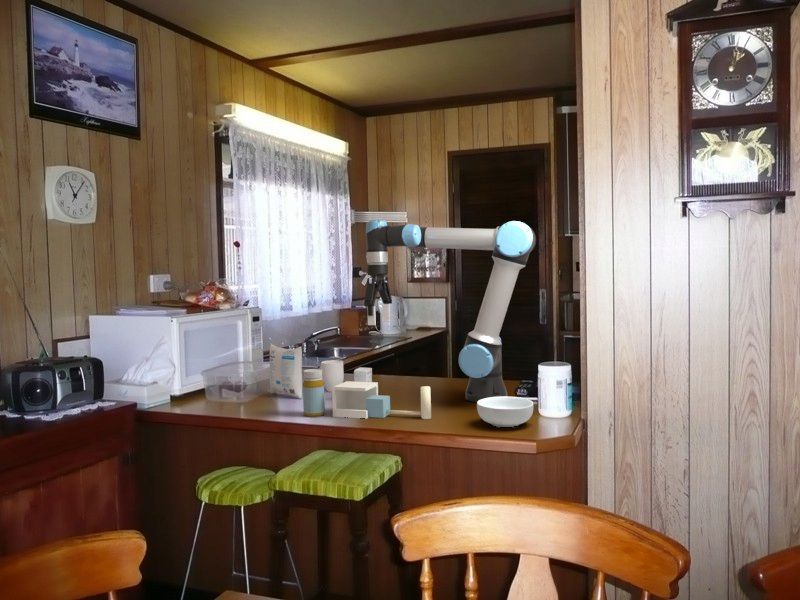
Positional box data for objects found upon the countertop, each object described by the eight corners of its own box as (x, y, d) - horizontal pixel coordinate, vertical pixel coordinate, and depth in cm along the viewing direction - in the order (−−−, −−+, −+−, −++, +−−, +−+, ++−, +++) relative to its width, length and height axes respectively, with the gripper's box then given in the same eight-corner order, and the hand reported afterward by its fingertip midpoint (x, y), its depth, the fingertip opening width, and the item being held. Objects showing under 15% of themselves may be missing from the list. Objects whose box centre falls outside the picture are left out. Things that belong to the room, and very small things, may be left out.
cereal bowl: (466, 425, 193) (465, 402, 193) (499, 415, 205) (498, 394, 204) (512, 435, 181) (511, 410, 181) (544, 423, 193) (544, 400, 192)
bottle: (314, 411, 218) (313, 368, 218) (329, 414, 214) (327, 369, 213) (299, 415, 213) (297, 371, 212) (313, 418, 208) (312, 372, 208)
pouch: (292, 401, 237) (290, 347, 236) (264, 394, 251) (262, 344, 250) (309, 397, 243) (307, 345, 242) (281, 391, 256) (279, 342, 255)
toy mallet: (433, 416, 206) (432, 385, 205) (428, 420, 200) (427, 389, 200) (373, 412, 213) (372, 383, 213) (366, 416, 208) (365, 386, 207)
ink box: (367, 403, 230) (366, 370, 229) (353, 403, 231) (352, 370, 230) (372, 398, 238) (372, 366, 237) (360, 398, 239) (359, 366, 238)
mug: (349, 389, 256) (347, 360, 255) (333, 394, 249) (332, 364, 248) (328, 387, 263) (327, 358, 262) (313, 391, 256) (311, 361, 255)
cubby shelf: (378, 411, 215) (377, 382, 215) (366, 418, 205) (365, 388, 205) (346, 409, 219) (345, 381, 219) (332, 416, 210) (331, 386, 209)
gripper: (380, 264, 240) (382, 320, 241) (353, 264, 217) (355, 326, 218) (399, 263, 238) (401, 320, 239) (373, 263, 214) (375, 326, 215)
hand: (379, 323), depth 228 cm, fingers open, 13 cm apart
